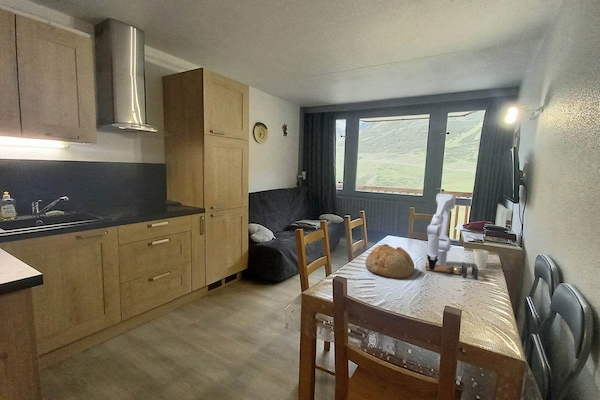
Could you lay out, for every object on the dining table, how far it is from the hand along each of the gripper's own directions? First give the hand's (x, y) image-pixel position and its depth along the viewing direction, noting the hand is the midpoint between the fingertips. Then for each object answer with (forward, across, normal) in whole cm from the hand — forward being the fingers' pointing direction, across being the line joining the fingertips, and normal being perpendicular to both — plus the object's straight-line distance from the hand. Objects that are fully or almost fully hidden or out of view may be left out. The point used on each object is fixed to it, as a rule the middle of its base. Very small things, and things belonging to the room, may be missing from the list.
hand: (431, 268), depth 160 cm
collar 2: (+1, 0, -21) cm, 21 cm away
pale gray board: (+2, 0, -9) cm, 9 cm away
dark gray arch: (+1, 0, -16) cm, 16 cm away
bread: (+2, -10, +22) cm, 25 cm away
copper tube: (+1, 0, -6) cm, 6 cm away
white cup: (+2, +21, -27) cm, 34 cm away
